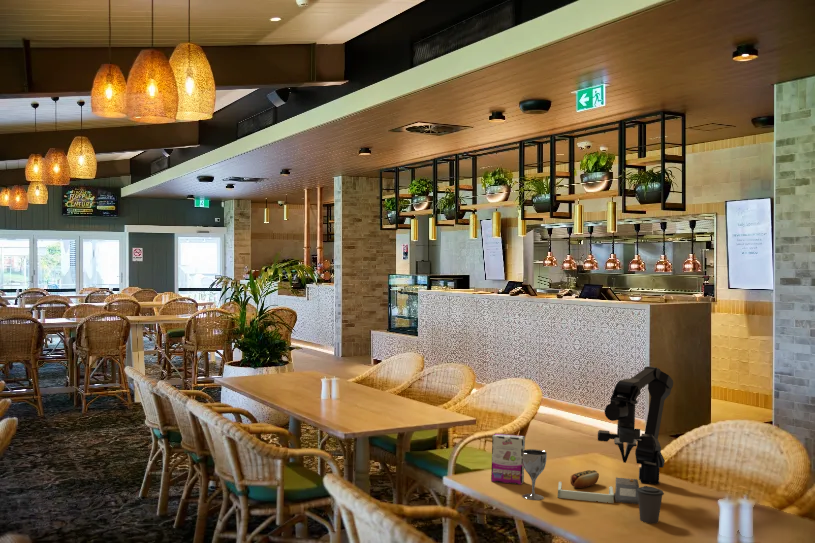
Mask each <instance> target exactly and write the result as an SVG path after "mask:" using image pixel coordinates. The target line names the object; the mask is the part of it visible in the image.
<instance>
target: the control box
mask: <svg viewBox="0 0 815 543" xmlns="http://www.w3.org/2000/svg"><path fill="white" fill-rule="evenodd" d="M638 480H639V479H637V478H636V479H635V478H625V477H624V478H623V477H615V491H614V492H613V494H614V502H615V503H621V502H622V504H623V503H624V504H632V503H633V505H639V499H638V492H637V491H636V490H637V489H638V488H640V483H639V481H638Z"/></svg>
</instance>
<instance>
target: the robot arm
mask: <svg viewBox="0 0 815 543" xmlns="http://www.w3.org/2000/svg"><path fill="white" fill-rule="evenodd" d="M646 386H647V390H648V393H649V395H650V401H649V406H648V412H647V417H646V423H645V430H644V433H641V428H635V426H636V425H635V424H636V405H637V404H639V401H637V399H638V397H639V396H640V395H641V394H642V392H641V390H642V389H643V388H645V387H646ZM673 387H674V380H673V378H672V377H671V376H670V375H669V374H667V373H665V372H664V371H662V370H661V369H660V368H658V367H656V366H650V365H649V366H645V367H643V370H641V371H639V372H638V373H636V374H635V375H634V376H632V377H631V378H623V379H621V380H619V381H618V382H616V384H615V386H614V389H613V392H612V394H611V397H610V402H609V404H607V405H606V406H605V409H604V415H605V417H606V419H607V420H609V421H611V422H615V421H617V427H616V428H617V429H616V430H617V431H616V433H610V430H603V429H602V430H601V429H600V430H598V431H597V441H598V442H608V441H610V440H614V441H613V442H614V445H615V446H616V445H617V446H618V448H619V451H620V454H621V458H622V463H624V464H625V463H627V461H628V458H629V456H630V454H631V451H632V449H633V448H634V447H636V448H635V453H634V454H635V460H636V464H638V465H639V464H640V466H639V467H638V480H640V483H642V484H651V485H660V484H661V483H660V469H661V468H664V466H665V460H666V459H665V458H664V455H663V453H662V446H661V443H660V441H659V434H660V429H661V424H662V423H661V422H662V415H663V412H664V411H663V410H664V404H665V400H666V399H667V398H668V397H669V396H670V395H671V393H672V388H673ZM624 443H626V447H625V446H624Z"/></svg>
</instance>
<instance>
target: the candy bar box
mask: <svg viewBox="0 0 815 543" xmlns="http://www.w3.org/2000/svg"><path fill="white" fill-rule="evenodd" d="M491 439H492V441H491V443H492V444H491V470H490V471H491V476H490V479H491V480H490V481H491V482H494V483H502V484H504V483H505V484H509V485H510V484H511V485H522V484H523V483H524V481H525V469H524V466H523V456H522V455H523V450H526V448H525V447H526V446H525V445H526V436H525V435H517V434H516V435H515V434H504V433H494V434H493V435H492V438H491Z"/></svg>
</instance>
